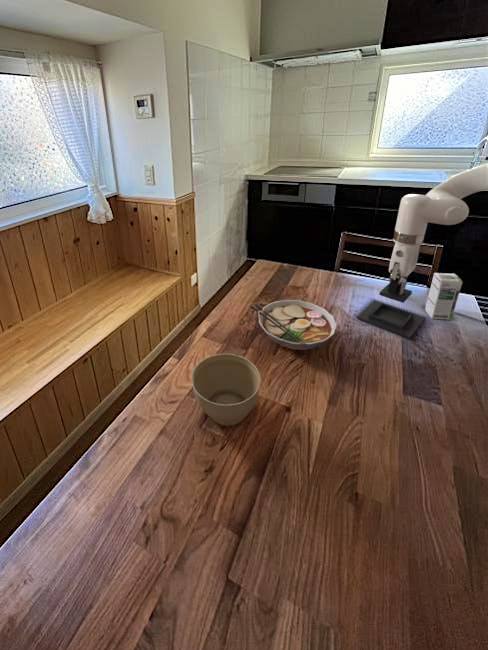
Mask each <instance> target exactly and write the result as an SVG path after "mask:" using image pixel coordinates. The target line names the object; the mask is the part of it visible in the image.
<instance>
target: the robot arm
mask: <svg viewBox="0 0 488 650" xmlns="http://www.w3.org/2000/svg"><path fill="white" fill-rule="evenodd" d="M483 191H488V162H486V163H483V164H480V165H477V166H475V167H472V168H469V169H467V170H464V171H461V172H458V173H456V174H454V175H453V176H451V177H449V178H447V179H445V180H444V181H442V182H441V183H439V184H438V185H436V186H435V187H433V188H432V189H430V190H429V191H428V192H427V193H426V194H417V193H410V194H406V195H403V197H401V199H400V203H399V207H398V213H397V218H396V223H395V227H394V232H393V238H392V241H393V242H394V246H393V250H392V253H391V257H390V262H389V266H388V272H389V274H390V276H389V283H388V284H389V287H388V292H390V293H393V294H396V295H399V294H400V289H401V285H402V283H401V280H402V277H403V278H405V279H406V284H405V288H404V289H406V287H407V281H408V277H409V276H410V274H411V273H412V272H413V271H415V269H416V268H417V264H418V260H419V254H420V250H421V249H420V248H421V246H422V245H423V243H424V239H425V236H426V235H425V234H426V231H427V228H428V223H430V224H437V225H444V226H452V225H458V224H460V223H462V222H464V221H465V220H466V219H467V217H468V216H469V213H470V208H469V205H467V203H466V202H465V201H464V200H462V199H463V198H465V197H468V196H470V195H472V194H475V193H478V192H483ZM397 276H399V279H398V278H397Z"/></svg>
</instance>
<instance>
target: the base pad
mask: <svg viewBox="0 0 488 650" xmlns="http://www.w3.org/2000/svg"><path fill="white" fill-rule="evenodd" d="M356 320H358V321H361V322H363V323H366V324H368V325H371V326H374V327H376V328H379V329H381V330H384V331H386V332H388V333H391V334H394V335H396V336H399V337H401V338H404V339H406V340H410V341H411V339H412V338H413V336H414V335H415V334H416V332H417V331H418V330H419V329H420V327H421V326H422V325H423V324H424V322H425V321H426V317H425V316H423V315H419V314H417V313H414V312H412V311H408V310H405V309H403V308H399V307H396V306H393V305H390V304H388V303H385V302H381V301H378V300H376V299H374V300H372V301H371V302H370V303H369V304H368V305H367V306H366V307H365V308H364V309H363V310H362V311H361V312H359V314H358V315H356Z"/></svg>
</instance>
